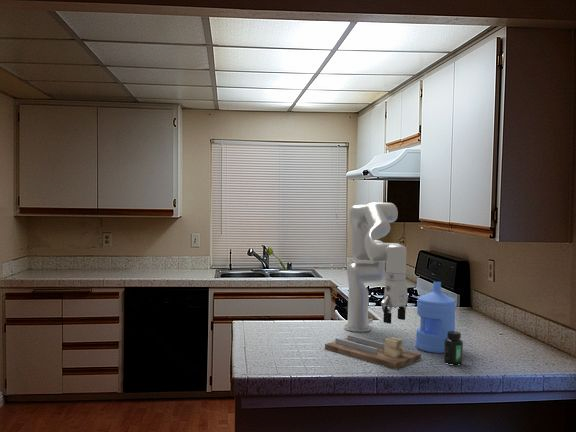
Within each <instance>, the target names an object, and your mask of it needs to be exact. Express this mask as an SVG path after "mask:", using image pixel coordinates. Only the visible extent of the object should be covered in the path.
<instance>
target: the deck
mask: <svg viewBox="0 0 576 432" xmlns="http://www.w3.org/2000/svg"><path fill="white" fill-rule="evenodd" d="M342 339H343V340H347V339H348V337H346V338H342ZM347 341H351V340H347ZM351 342H354V341H351ZM355 343H358V342H355ZM358 344H362V343H358ZM362 345H366V344H362ZM366 346H370V345H366ZM370 347H373V346H370ZM374 348H377V347H374ZM324 350H327V351H329V352H330V351H332V352H335V353H337V354H342V355H345V356H348V357H351V356H352V358H355V359H359V360H363V361H365V360H366V362H369V363H372V362H373V363H372V364H376V363H377V364H376V365H379V364H380V366H383V365H384V366H383V367H386V366H387V368H390V367H391V368H390V369H393V368H394V369H393V370H397V369H399V368H398V367H400V368H402V367H404V366H403V365H405V366H407V365H410V364H412V363H415V362H418V361H420V360H421V359H422V354H421V353H417V352H414V351H410V350H406V349H403V352H402V355H401V356H398V357H392V356H388V355H384V349H381V348H377V354H374V353H370V352H366V351H363V350H359V349H355V348H352V347H348V346H344V345H341V344H337V343H336V340H335V341H331V342H327V343H325V344H324ZM419 359H420V360H419ZM417 360H418V361H417ZM414 361H415V362H414ZM411 362H412V363H411ZM409 363H410V364H409ZM406 364H407V365H406ZM401 366H402V367H401ZM396 368H397V369H396Z"/></svg>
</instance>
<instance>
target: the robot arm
mask: <svg viewBox="0 0 576 432" xmlns="http://www.w3.org/2000/svg"><path fill="white" fill-rule="evenodd" d="M398 214H399V212H398V207H397V206H396V205H395V204H394V203H392V202H369V203H368V204H355V205H352V206H351V207H350V209H349V215H348V217H349V221H350V222H349V223H350V224H351V225H350V226H351V232H352V233H351V256H352V258H353V259H354V260H358V261H371V262H353V263H351V264H348V266H347V269H346V274H347V283H348V293H347V294H348V296H347V297H348V299H347V323H346V324H344V326H343V328H344V330H346V331H349V332H355V333H367V332H370V331H371V330H372V327H371V326H370V325H369V324H371V323H373V321H374V320H373V318H369V300H370V299H369V296H370V295H369V294H370V293H369V290H368V288H367V287H366V286H365V284H368V283H369V284H378V283H379V284H380V283H382V281H383V280H384V278H385V285H384V290H383V292H384V293H383V299H382V301H381V302H380V305H381V309H382V312H383V320H382V321H383V323H385V324H389V325H390V324H392V314H393V313H391V312H392V310H393V309H397V320H400V321H401V320H402V321H405V320H406V310H407V306H408V301H409V296H408V285H407V284H408V283H407V281H406V280H407V278H406V276H407V275H406V273H407V247H406V246H405V245H403V244H400V243H397V242H383V241H382V240H379V239H381V238H384V237H386V236H387V235H388V234H389V233H390V231H391V223H394V222H395V221H397V219H398V216H399V215H398Z"/></svg>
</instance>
